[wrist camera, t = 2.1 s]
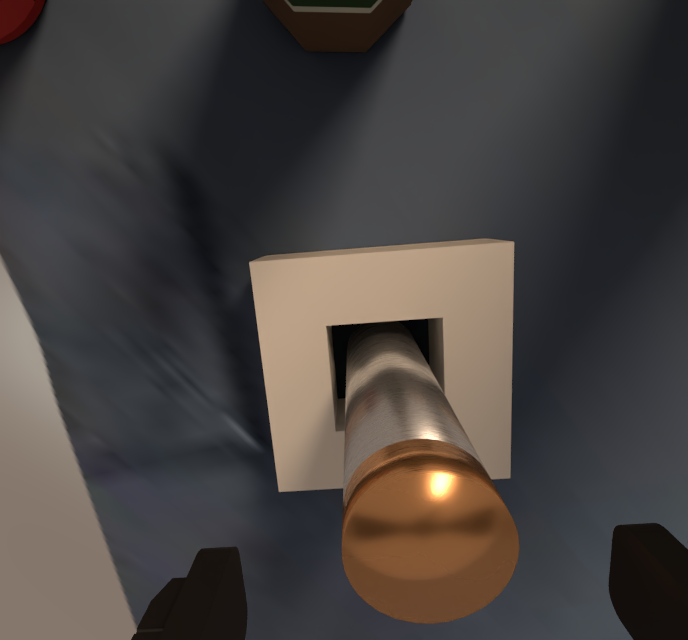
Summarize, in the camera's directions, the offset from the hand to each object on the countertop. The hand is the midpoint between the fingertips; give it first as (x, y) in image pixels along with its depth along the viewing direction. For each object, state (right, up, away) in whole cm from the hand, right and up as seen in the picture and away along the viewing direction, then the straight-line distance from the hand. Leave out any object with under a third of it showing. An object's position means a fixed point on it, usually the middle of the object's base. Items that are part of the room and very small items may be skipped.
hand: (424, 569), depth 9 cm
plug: (0, +3, +15) cm, 16 cm away
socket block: (0, +3, +15) cm, 16 cm away
